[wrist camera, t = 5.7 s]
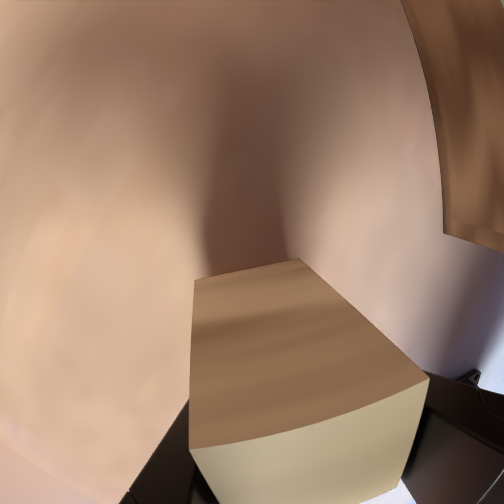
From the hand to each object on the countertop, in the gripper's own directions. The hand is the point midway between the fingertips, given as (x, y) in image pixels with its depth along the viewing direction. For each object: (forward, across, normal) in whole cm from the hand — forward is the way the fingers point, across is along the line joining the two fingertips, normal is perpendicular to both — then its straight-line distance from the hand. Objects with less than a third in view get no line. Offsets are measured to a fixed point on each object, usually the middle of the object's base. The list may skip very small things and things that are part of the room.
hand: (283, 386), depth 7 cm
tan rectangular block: (+4, 0, 0) cm, 4 cm away
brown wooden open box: (+5, -16, -9) cm, 19 cm away
